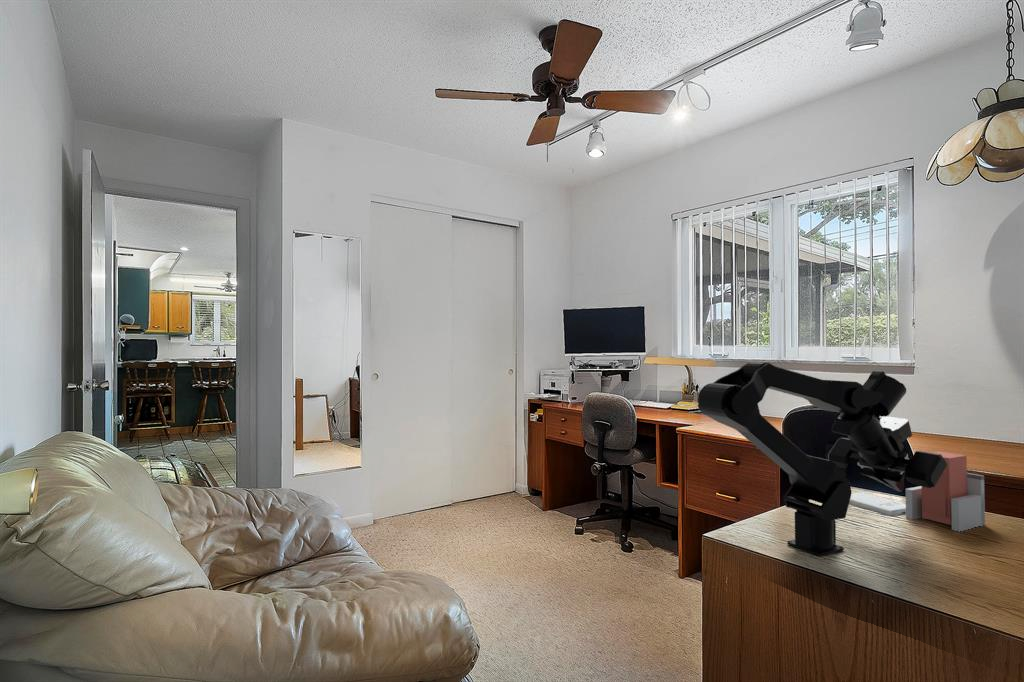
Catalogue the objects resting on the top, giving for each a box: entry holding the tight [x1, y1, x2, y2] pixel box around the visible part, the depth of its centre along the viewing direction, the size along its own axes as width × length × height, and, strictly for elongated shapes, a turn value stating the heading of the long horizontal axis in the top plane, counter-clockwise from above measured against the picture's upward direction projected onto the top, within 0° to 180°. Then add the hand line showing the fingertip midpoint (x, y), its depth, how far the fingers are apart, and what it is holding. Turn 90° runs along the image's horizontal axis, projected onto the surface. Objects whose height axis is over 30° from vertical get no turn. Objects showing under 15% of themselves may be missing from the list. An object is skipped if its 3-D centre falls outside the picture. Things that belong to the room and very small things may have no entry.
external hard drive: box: [849, 491, 906, 517], centre depth 121 cm, size 2×8×12 cm
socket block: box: [905, 472, 986, 533], centre depth 109 cm, size 9×9×10 cm
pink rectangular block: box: [922, 450, 968, 526], centre depth 109 cm, size 7×5×13 cm
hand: (900, 489), depth 104 cm, fingers closed
